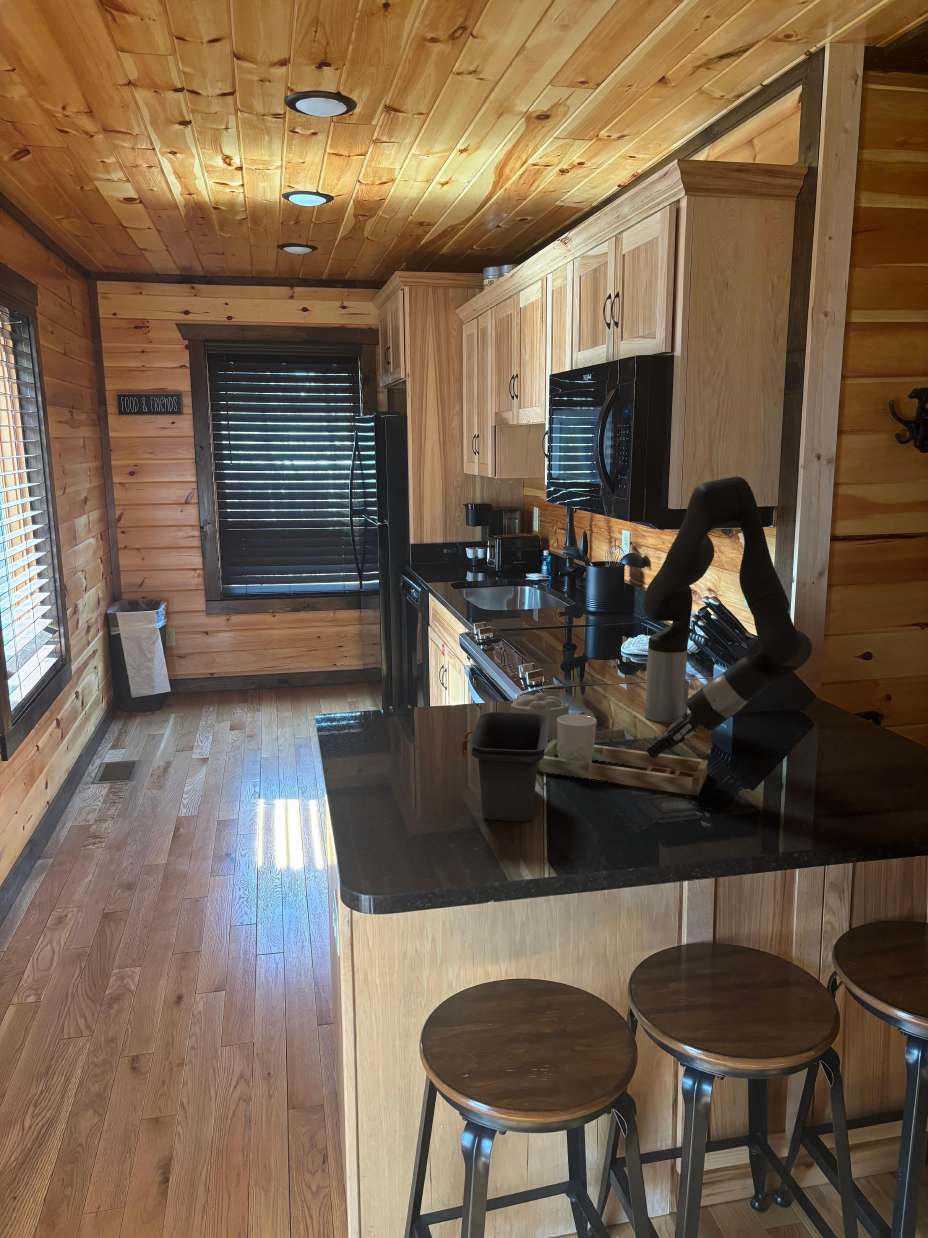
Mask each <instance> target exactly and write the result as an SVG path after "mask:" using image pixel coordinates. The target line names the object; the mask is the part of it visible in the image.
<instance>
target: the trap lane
mask: <svg viewBox="0 0 928 1238" xmlns="http://www.w3.org/2000/svg"><path fill="white" fill-rule="evenodd" d="M555 755H556V756H558V755H559V754H558V741H557V740H556V739H552V740H549V741H548V744H547V748H546V749H545V751H544V757H543V759H542V760H540V761H538V765H537V772H539V771H542V772H541V773H545V772H547V773H546V774H552V773H553V774H552V775H558V774H561V775H560V776H565V775H566V777H571V776H575V777H574V778H578V777H581V778H580V779H584V778H589V779H588V780H591V779H596V780H595V781H597V780H602V781H601V782H604V781H608V782H607V783H611V782H613V783H612V784H617V783H618V785H625V786H632V787H637V788H645V789H651V790H657V791H663V792H664V791H665V792H670V793H675V794H676V793H677V794H683V795H690V796H695V797H696V796H699V794H700V792H701V789H702V787H703V785H704V783H705V781H706V779H707V776H708V772H709V770H708V769H709V760H707V759H700V758H694V757H693V758H692V757H686V756H677V755H671V754H664V753H661V754H659V755H658V756H657V757H655V758H652V757H651V756H650V755H649V754H648V753H647V751H641V750H635V749H627V748H622V747H621V748H619V747H611V746H606V745H598V744H594V750H593V756H592V761H595V760H598V761H597V762H601V761H606V762H605V763H608V762H611V763H610V764H615V763H618V764H617V765H622V764H624V765H623V766H628V767H629V766H631V767H635V768H630V767H629V768H628V767H621V766H614V765H608V764H603V763H602V764H601V763H594V762H592V763H589V762H582V761H575V760H568V759H562V758H559V757H556V756H555ZM554 756H555V757H554ZM636 767H637V768H644V769H645V768H646V770H643V769H637V768H636ZM672 773H674V774H672Z"/></svg>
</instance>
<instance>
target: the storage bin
mask: <svg viewBox="0 0 928 1238" xmlns="http://www.w3.org/2000/svg"><path fill="white" fill-rule="evenodd" d="M549 722H550V719H549V718H548V717H547V716H545V715H541V714H534V713H513V712H510V711H509V712H507V711H490V712H485V713H482V714H480V715H479V716H478V717H477V721H476V723H475V726H474V727H473V728H474V729H473V730H469V731H468V732H466V733H465V736H464V740H463V741H462V743H461V757H465V756H466V755H467V748H468V742H469V745H470V746H471V756H472V757H474V758H476V759H477V762H478V773H479V784H480V785H479V786H480V799H481V812H482V814H481V815H482V817H483V819H486V820H493V821H508V822H529V821H531V820H532V819H533V812H534V804H535V803H534V802H535V794H536V786H537V785H536V784H537V775H538V774H537V773H538V771H537V765H538V761H540V760H542V759H543V757H544V751H545V749H546V748H547V744H548V743H549V741H548V738H549ZM470 734H472V735H471V737H470V739H468V738H469V737H468V736H469V735H470Z"/></svg>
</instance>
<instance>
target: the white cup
mask: <svg viewBox="0 0 928 1238" xmlns="http://www.w3.org/2000/svg"><path fill="white" fill-rule="evenodd" d="M596 729H597V719H596V718H594V716H593V717H592V716H589V715H585V714H577V713H574V714H573V713H569V714H568V715H562V716H560V717H558V718H557V741H558V754H559V755H557V756H558V758H562V759H568V760H575V761H582V762H589V763H593V760H592V756H593V750H594V745H595V738H596Z"/></svg>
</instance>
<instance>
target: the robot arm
mask: <svg viewBox="0 0 928 1238" xmlns="http://www.w3.org/2000/svg"><path fill="white" fill-rule="evenodd" d="M685 511H686V512H685V513H684V514H685V515H684V516H683V517H684V518H683V521H682V523H681V526H680V527H679V530H678V532H677V535H676V536H675V539H674V540H673V542H672V543H671V546H670V548H669V550H668V552H667V554H666V556H665V558H664V561H663V563H662V565H661V567H660V568H659V570H658V572H657V573H656V575H655V576H653V578H652V580H651V581H650V582H649V584H648V586H647V588H646V589H645V592H644V595H643V603H642V608H643V609H642V610H643V612H644V615H645V617H646V618H648V620H651V621H654V622H655V621H656V622H672V623H671V624H670V625H669V626H668V627H667V628H665V629H664V630H661V631H659V632H656V633H653V634H651V635H650V636H649V638H648V647H647V665H646V667H647V668H646V683H645V684H646V688H645V703H644V706H645V708H644V717H645V718H646V719H648V720H649V721H653V722H658V723H666V724H667V723H672V724H670V726H669V727H668V728H667V729H666V730H665V733H662V735H661V736H660V737H659V738H658V739H657V740H655V742H653V743H652V744H651V745H649V746H648V748H647V749H646V752H647V753H648V754H649V755H650V756H651V757H652V758H655V757H657V756H658V755H659V754H663V752H664V751H665V750H672V748H674V747H676V746H678V745H679V744H681V743H683V742H685V740H686V739H688V738H692V736H693V735H695V734H696V733H697V732H698V729H699V728H700V727H699V726H702V727H703V728H704V729H706V730H708V731H714V730H716V729H717V728H718V727H719V726H720V725H723V723H725V722H726V721H727V720H729V719H730V718H731V717H732V716H734V715H735V714H736V713H738V712H739V711H740V710H741V709H742V708H743V707H744V706H745V705H746V704H747V703H748V702H750V701H751V700H752V699H754V698H755V697H757V696H758V695H759V694H760V693H762V692H763V691H764V690H766V688H767V687H769V686H771V685H772V684H775V683H777V682H778V681H779V680H782V679H783V678H785V677H787V676H789V675H791V674H793V673H795V672H796V671H797V670H799V669H800V668H801V667H803V666H804V665H805V664H806V663H807V662H808V661H809V659H810V657H811V655H812V651H813V645H812V641H811V639H810V638H809V636H808V635H806V633H804V632H802V631H800V630H798V629H796V627H795V625H794V623H793V620H792V618H791V615H790V613H789V611H790V608H791V605H790V601H789V598H788V596H787V594H786V592H785V589H784V586H783V584H782V582H781V580H780V578H779V576H778V573H777V571H776V568H775V566H774V563H773V559H772V557H771V554H770V551H769V545H768V541H767V538H766V534H765V529H764V526H763V522H762V518H761V515H760V511H759V509H758V505H757V500H756V498H755V495H754V492H753V489H752V487H751V486H750V484H749V482H748V481H747V480H746V479H745V478H744V477H742V476H731V477H726V478H720V479H716V480H711V481H710V480H709V481H706V482H703V483H701V484H699V485H697V486H696V487H695V488H694V490H693V492H692V493H691V496H690V499H689V501H688V505H687V509H686V510H685ZM732 525H738V526H739V528H740V530H741V533H742V536H743V542H744V543H743V552H742V557H741V561H740V568H739V575H738V577H739V578H738V579H739V586H740V589H741V591H742V594H743V597H744V599H745V602H746V604H747V607H748V608H749V611H750V612H751V613H750V614H751V615H752V618H753V622H754V626H755V631H756V632H755V633H756V636H757V640H758V644H759V646H760V648H761V650H760V651H758V652H757V653H755V654H753V655H747V656H744V657H742V658H740V659H739V660H738V661H736V662H735V663H733V664H732V665H731V666H730V667H728V668H727V669H726V670H725V671H723V672H722V673H720V674H719V675H717V676H715V677H714V678H712V679H711V680H710V681H709V682H707V683H706V684H705V685H704V686H702V687H701V688H700V689H699V690H697V691H696V692H695V693H693V694H692V695H691V696H690V697H689V689H690V681H689V680H688V679H687V665H688V664H687V661H688V647H689V639H690V629H691V627H690V626H691V619H692V611H693V591H692V589H691V586H692V585H694V584H696V583H697V582H698V581H699V580H701V579H702V578H703V577H704V576H705V574H706V573H707V571H708V569H709V568H710V566H711V565H712V562H713V560H714V557H715V552H716V551H715V545H714V543H713V541H712V539H711V537H710V536H709V535H708V534H709V533H710V532H711V531H712V530H715V529H718V528H719V529H720V528H722V527H727V526H732ZM688 711H689V713H688Z"/></svg>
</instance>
